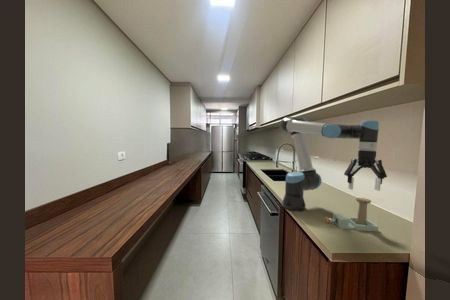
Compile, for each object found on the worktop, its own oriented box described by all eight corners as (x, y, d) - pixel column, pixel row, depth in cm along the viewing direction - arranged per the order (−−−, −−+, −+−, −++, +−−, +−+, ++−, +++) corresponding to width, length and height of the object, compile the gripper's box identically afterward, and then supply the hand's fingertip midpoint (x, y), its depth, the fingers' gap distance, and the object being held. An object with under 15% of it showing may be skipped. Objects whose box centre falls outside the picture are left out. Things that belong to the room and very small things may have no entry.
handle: (352, 223, 103) (354, 197, 102) (366, 225, 101) (368, 198, 100) (355, 227, 98) (358, 199, 97) (370, 229, 96) (372, 201, 95)
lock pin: (324, 221, 102) (324, 215, 102) (337, 222, 102) (337, 216, 102) (327, 224, 99) (327, 218, 99) (340, 224, 99) (341, 219, 99)
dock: (331, 220, 105) (332, 212, 105) (365, 222, 104) (365, 214, 104) (341, 229, 96) (341, 220, 95) (377, 231, 94) (378, 222, 94)
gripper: (346, 150, 94) (343, 190, 95) (398, 151, 92) (394, 192, 93) (338, 148, 101) (335, 186, 103) (386, 150, 99) (382, 188, 101)
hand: (363, 189), depth 98 cm, fingers open, 13 cm apart
